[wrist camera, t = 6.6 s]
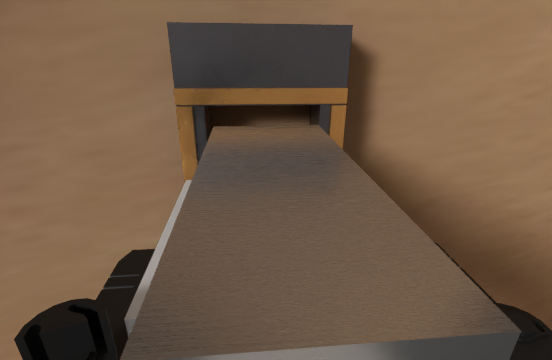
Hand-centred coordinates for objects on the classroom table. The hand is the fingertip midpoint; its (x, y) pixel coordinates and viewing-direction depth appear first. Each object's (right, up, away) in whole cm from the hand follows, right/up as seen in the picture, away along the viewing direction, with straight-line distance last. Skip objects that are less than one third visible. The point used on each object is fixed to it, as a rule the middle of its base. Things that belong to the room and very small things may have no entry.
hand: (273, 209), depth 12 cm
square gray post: (0, +1, +3) cm, 4 cm away
